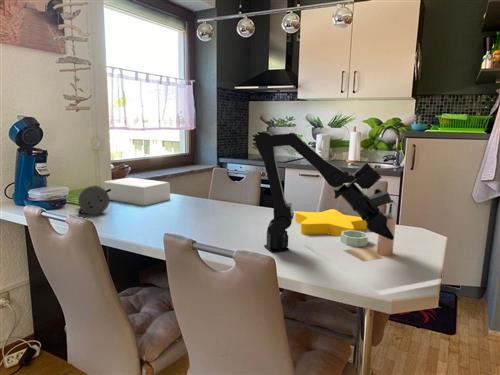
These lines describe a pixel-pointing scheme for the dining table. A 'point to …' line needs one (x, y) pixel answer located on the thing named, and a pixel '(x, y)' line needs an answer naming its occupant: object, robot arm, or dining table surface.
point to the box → (137, 190)
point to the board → (366, 253)
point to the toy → (93, 200)
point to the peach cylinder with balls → (384, 243)
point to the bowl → (354, 238)
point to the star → (328, 222)
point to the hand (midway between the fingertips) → (389, 234)
